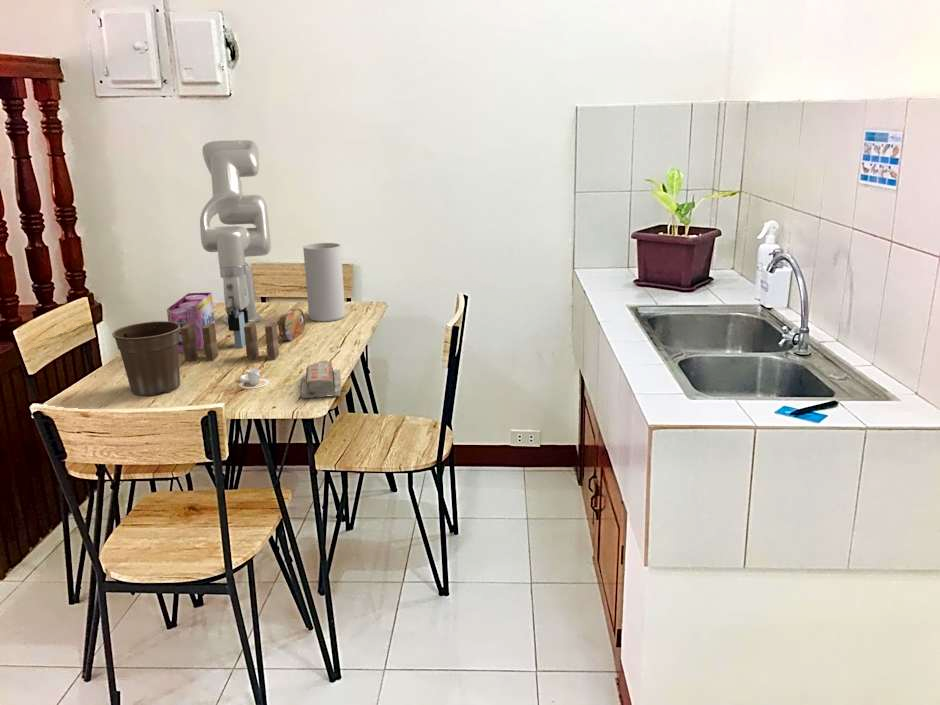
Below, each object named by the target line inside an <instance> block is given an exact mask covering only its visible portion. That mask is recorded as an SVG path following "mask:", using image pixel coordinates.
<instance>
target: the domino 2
mask: <svg viewBox="0 0 940 705" xmlns="http://www.w3.org/2000/svg"><path fill="white" fill-rule="evenodd" d="M215 326H216V322H215V323H207V324H206V325H205V326H204V327H202V334H203V342H204V345H203V347H204V356H205V362H214V361H215V360H216V359H217V358H218V356H219V347H218V340H217V339H218V338H217V329H216V330H215Z"/></svg>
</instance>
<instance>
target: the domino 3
mask: <svg viewBox="0 0 940 705" xmlns="http://www.w3.org/2000/svg"><path fill="white" fill-rule="evenodd" d="M238 317H239V324H240V330H239V331H233V335H234V337H233V339H234V347H235V349H243V347H245V346H246V343H245V334H244V326H245V325H246V324H245V321H244V312H238Z"/></svg>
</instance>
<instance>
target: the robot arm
mask: <svg viewBox="0 0 940 705" xmlns="http://www.w3.org/2000/svg"><path fill="white" fill-rule="evenodd" d="M201 150H202V156H203V160H204V164H205V165H206V169H207V171H208V172H209V174H210V178H211V186H212V196H211V198H210V199H209V200H208V202H206V204H205V206H204V207H203V209H202V211H201V213H200V217H199V228H200V229H199V231H200V241H201V242H200V243H201V246H202V249H204V250H205V251H206V252H209V253H217V259H218V264H219V265H218V266H219V274H220V278H222V279H223V296H224V297H223V298H224V304H225V308H224V311H225V312H226V314H227V315H226V316H224V317H223V319H222V320H223V323H224V324H225V325H228V331H229V332H234V331H239V330H240V324H239V317H238V312H244V321H245V325H246V324H247V323H248V322H256V323H257V322H260V321H261V319H262V315H261V314H259V313H257V310H256V309H257V308H256V301H255V292H254V291H255V290H254V280H253V273H252V268H251V266H250V265H249V264H248V263H247V261H246V257H248V258H249V257H261V256H267V255H269V253H270V252H271V248H272V243H271V234H270V222H269V214H268V207H267V203H266V201H265V198H264V197H263V196H261V195H257V194H246V195H245V194H243V186H242V180H241V178H245V177H246V178H248V177H250V178H252V177H256V176H257V175H258V174H259V170H260V157H259V155H260V154H259V149H258V146H257V144H256V142H255V141H253V140H249V139H245V140H242V139H241V140H240V139H239V140H237V139H236V140H213V141H209V142H206V143H205V144H203V146H202V149H201ZM216 215H218V218H219V221H220V222H221V223H222V224H223V225H226V226H211V227H210V223H211V220H212V219H213V217H214V216H216ZM230 225H232V226H230ZM242 225H253V226H255V227H245V226H242Z"/></svg>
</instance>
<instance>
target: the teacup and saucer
mask: <svg viewBox="0 0 940 705" xmlns="http://www.w3.org/2000/svg"><path fill="white" fill-rule="evenodd" d="M260 376H261V375H260V368H250V369H247V371H246V374H242V375H240V376H239V378H238V379H239V381H240V382H239V383H238V387H239V388H242V389H246V390H247V389H248V390H251V389H252V390H253V389H258V388H264V387H266V386H268V385H269V384H270V383H271V381H270V380H269V379H265V378H260ZM261 381H262V382H264V384H263V385H259V384H260V382H261ZM244 384H250V385H251V386H253V387H251V386H244ZM257 385H258V386H257Z"/></svg>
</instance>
